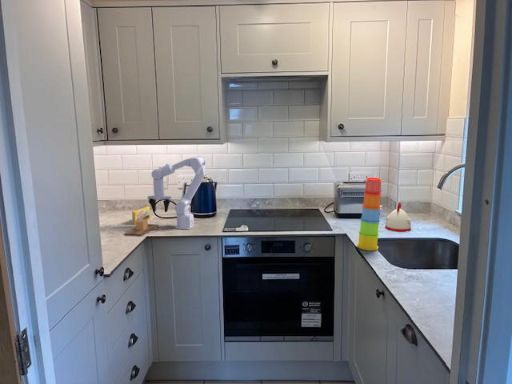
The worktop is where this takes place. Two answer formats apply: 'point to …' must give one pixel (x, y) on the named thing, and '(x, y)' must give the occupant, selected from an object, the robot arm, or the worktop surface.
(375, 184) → the stacking cups
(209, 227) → the worktop surface
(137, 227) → the orange cube
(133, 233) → the walnut board
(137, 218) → the candy box
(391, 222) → the cream dome
